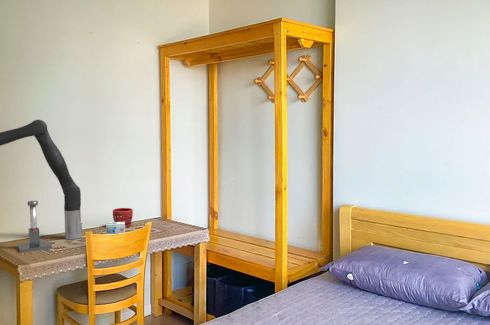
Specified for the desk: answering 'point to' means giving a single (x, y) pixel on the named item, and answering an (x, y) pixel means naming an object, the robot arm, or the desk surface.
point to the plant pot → (123, 216)
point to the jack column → (33, 214)
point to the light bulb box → (115, 227)
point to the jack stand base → (34, 242)
